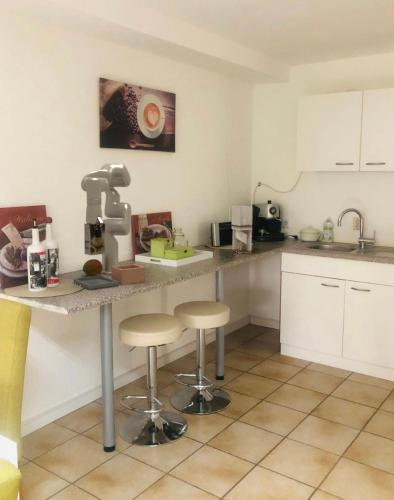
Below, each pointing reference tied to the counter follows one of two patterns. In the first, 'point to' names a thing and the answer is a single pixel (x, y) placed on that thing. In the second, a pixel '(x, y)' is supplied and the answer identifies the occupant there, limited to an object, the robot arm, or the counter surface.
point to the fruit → (93, 267)
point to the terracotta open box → (128, 274)
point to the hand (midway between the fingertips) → (94, 236)
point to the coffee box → (94, 240)
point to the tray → (96, 282)
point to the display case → (242, 228)
